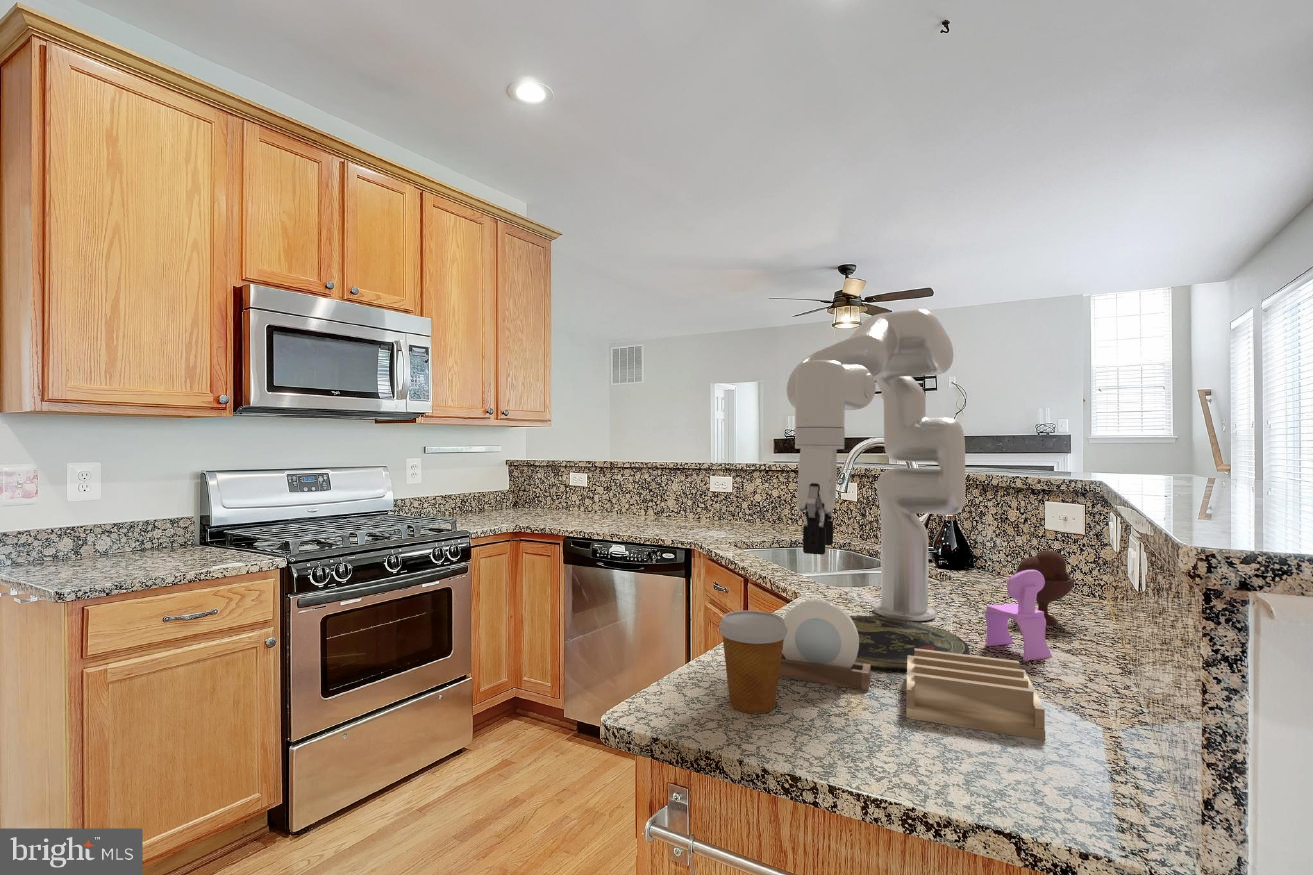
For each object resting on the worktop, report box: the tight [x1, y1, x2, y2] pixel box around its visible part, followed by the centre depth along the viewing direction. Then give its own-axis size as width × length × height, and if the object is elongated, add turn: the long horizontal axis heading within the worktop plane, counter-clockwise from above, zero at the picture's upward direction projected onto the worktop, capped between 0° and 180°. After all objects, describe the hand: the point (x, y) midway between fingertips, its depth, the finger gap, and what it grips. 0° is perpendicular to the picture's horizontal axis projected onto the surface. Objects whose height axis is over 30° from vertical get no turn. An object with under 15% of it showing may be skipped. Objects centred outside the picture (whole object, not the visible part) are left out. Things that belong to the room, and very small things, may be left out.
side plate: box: [782, 599, 859, 669], centre depth 98 cm, size 2×12×12 cm, turn 68°
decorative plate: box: [849, 614, 971, 674], centre depth 115 cm, size 30×2×30 cm
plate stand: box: [779, 652, 871, 691], centre depth 98 cm, size 4×15×2 cm, turn 68°
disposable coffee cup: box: [718, 610, 788, 715], centre depth 87 cm, size 10×10×12 cm
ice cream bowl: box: [1012, 549, 1076, 626], centre depth 131 cm, size 11×11×15 cm
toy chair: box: [984, 570, 1053, 661], centre depth 112 cm, size 8×9×15 cm
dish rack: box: [905, 648, 1046, 741], centre depth 88 cm, size 16×16×5 cm
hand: (818, 548), depth 98 cm, fingers open, 9 cm apart
